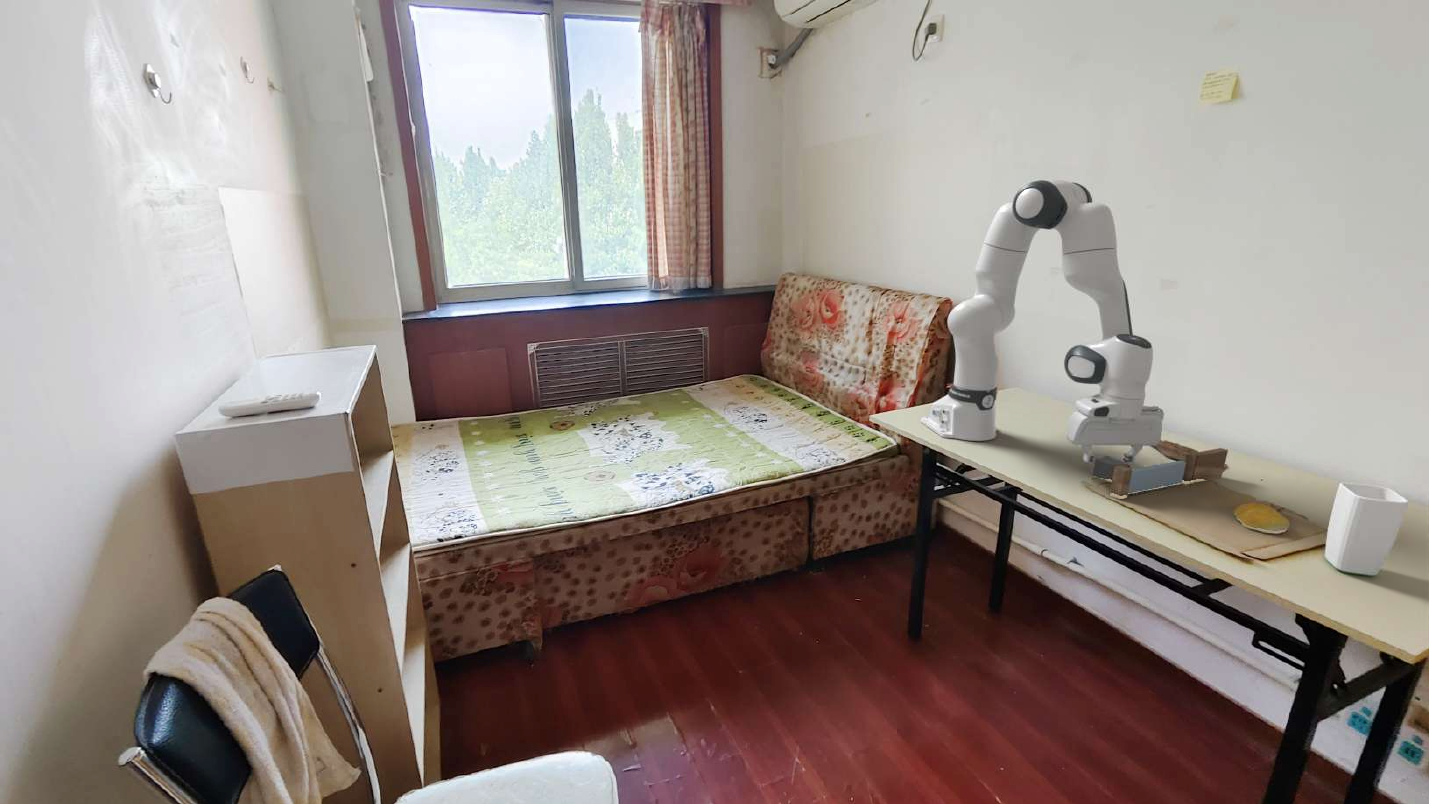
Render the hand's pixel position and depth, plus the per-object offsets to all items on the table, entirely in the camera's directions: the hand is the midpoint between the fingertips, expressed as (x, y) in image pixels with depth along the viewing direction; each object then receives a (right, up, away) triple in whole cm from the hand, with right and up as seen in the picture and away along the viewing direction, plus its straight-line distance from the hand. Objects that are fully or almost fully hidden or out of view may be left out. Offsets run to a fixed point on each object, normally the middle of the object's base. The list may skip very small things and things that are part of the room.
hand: (1107, 461), depth 152 cm
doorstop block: (+1, -4, +1) cm, 5 cm away
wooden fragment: (+28, 0, +17) cm, 33 cm away
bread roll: (+18, -11, -21) cm, 30 cm away
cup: (+20, -16, -37) cm, 45 cm away
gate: (+7, -6, -5) cm, 10 cm away
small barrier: (+12, -5, -3) cm, 13 cm away
